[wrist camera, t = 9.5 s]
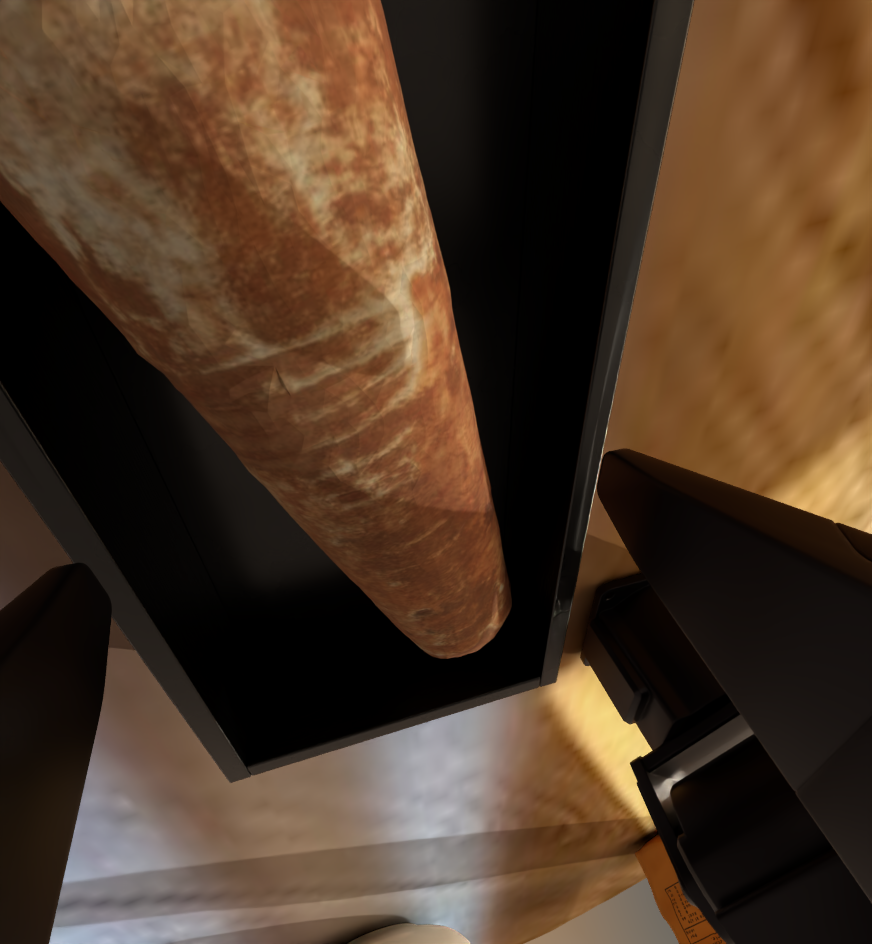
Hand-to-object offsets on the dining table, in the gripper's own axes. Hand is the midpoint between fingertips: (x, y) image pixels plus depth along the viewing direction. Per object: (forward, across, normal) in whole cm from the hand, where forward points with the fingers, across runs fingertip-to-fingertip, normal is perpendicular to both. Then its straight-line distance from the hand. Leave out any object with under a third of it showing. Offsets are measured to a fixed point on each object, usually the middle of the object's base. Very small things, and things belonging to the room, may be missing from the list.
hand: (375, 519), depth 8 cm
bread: (+6, -1, 0) cm, 6 cm away
